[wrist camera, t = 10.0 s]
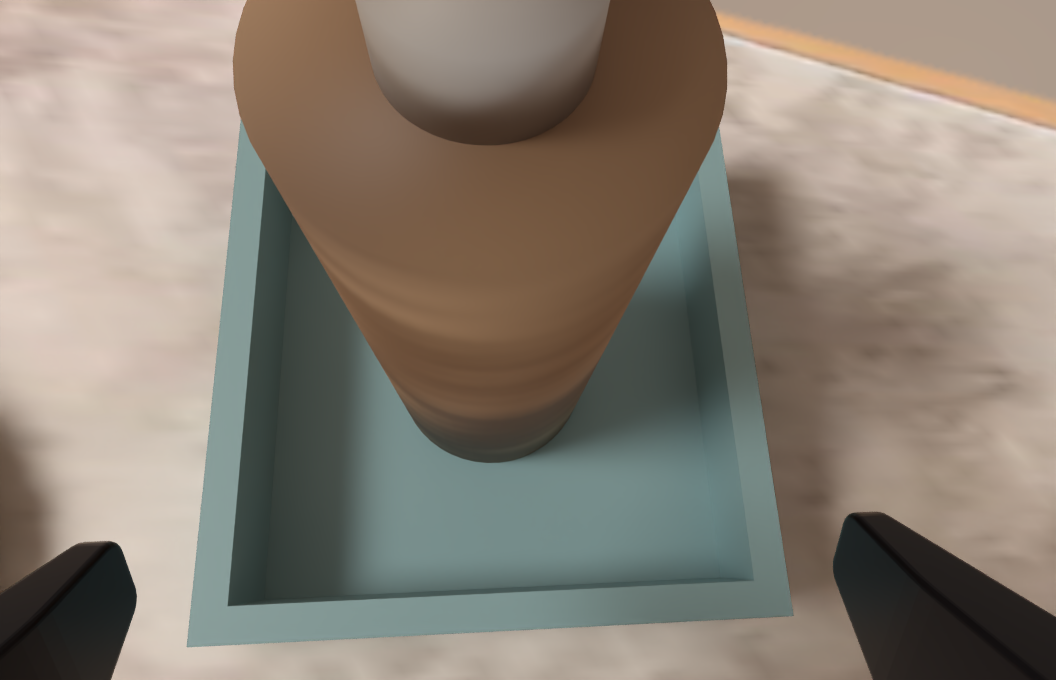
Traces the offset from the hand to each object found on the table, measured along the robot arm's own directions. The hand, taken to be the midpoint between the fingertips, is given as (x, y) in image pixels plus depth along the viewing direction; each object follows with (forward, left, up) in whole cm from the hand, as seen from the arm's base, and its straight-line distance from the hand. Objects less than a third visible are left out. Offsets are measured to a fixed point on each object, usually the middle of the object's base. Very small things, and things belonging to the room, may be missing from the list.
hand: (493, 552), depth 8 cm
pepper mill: (+4, -2, -10) cm, 11 cm away
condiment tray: (+4, -3, -11) cm, 12 cm away
